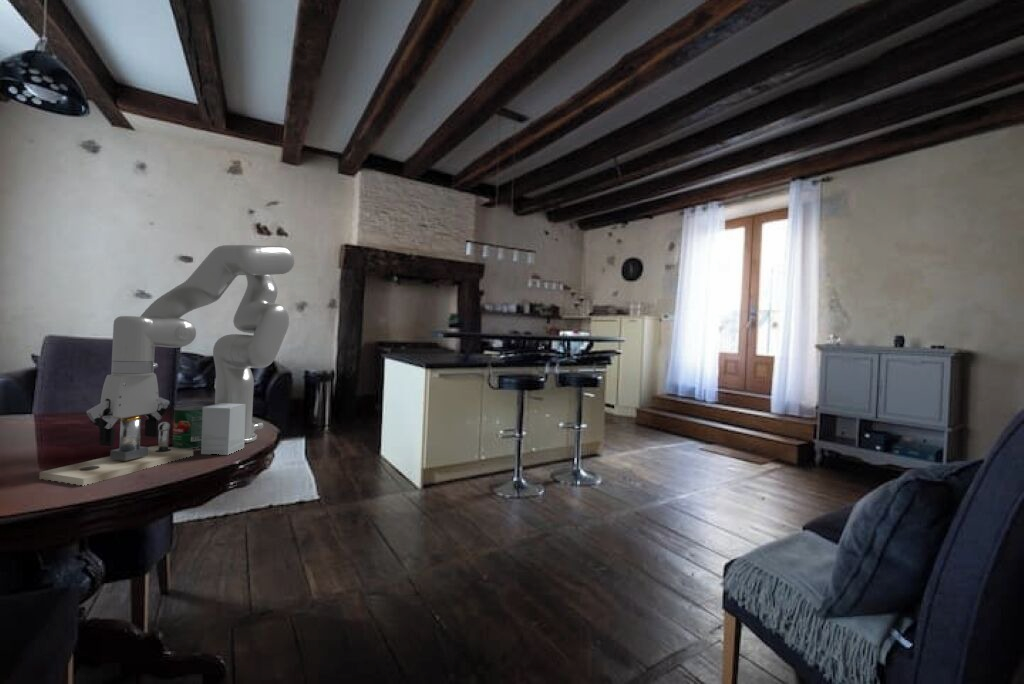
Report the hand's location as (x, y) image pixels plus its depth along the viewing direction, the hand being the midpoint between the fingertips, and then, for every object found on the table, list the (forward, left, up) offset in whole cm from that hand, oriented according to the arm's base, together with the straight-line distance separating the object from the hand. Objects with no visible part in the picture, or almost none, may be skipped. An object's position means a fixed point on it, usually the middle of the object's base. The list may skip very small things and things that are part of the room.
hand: (129, 440), depth 101 cm
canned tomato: (-18, -3, -6) cm, 19 cm away
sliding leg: (0, 0, -4) cm, 4 cm away
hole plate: (+1, 0, -6) cm, 6 cm away
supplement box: (-17, +9, -6) cm, 20 cm away
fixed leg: (-8, 0, -4) cm, 9 cm away
